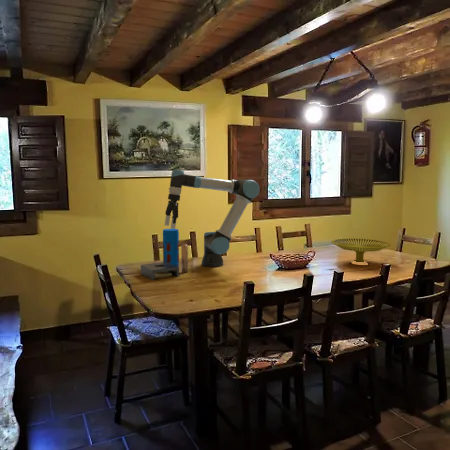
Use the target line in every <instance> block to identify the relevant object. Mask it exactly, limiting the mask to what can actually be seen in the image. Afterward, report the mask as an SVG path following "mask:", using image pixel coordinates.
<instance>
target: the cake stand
mask: <svg viewBox="0 0 450 450" xmlns="http://www.w3.org/2000/svg"><path fill="white" fill-rule="evenodd" d="M330 243H331V244H333V245H334V246H337V247H338V248H339V249H340V248H341V249H343V250H346V251H351V252H352V251H353V252H355V259H354V261H356V262H364V261H365V260H364V255H365V254H364V253H366V252H367V253H368V252H370V253H371V252H378V251H382V250H383V249H386V248H388V247H390V246H391V243H389V242H387V241H383V240H377V239H370V238H369V239H368V238H354V237H353V238H351V237H350V238H337V239H333V240H331V241H330Z"/></svg>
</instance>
